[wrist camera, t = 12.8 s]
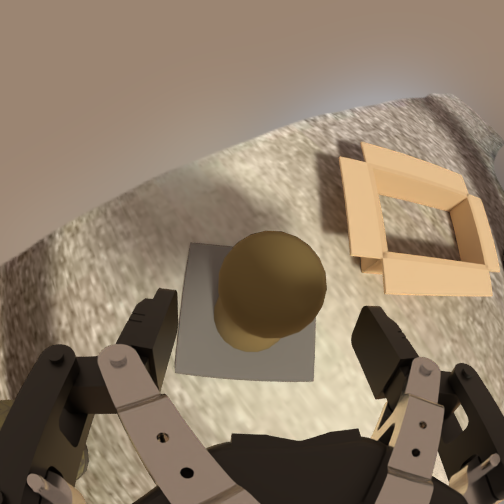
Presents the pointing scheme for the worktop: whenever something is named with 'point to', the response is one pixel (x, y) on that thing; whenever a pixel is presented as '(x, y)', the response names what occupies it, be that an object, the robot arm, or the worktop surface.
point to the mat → (212, 344)
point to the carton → (426, 193)
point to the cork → (268, 290)
